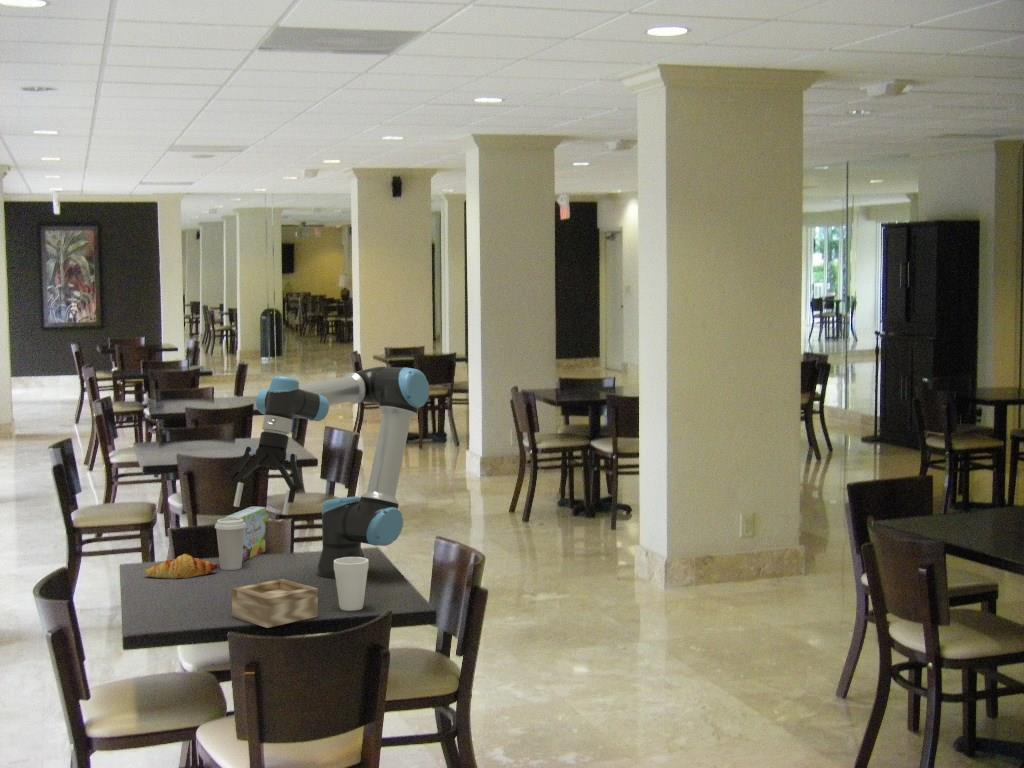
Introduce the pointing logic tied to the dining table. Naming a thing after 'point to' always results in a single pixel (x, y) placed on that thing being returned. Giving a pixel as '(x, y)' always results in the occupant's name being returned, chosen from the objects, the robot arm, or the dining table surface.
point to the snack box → (252, 530)
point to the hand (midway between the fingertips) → (260, 510)
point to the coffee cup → (230, 542)
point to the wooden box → (274, 603)
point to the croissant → (181, 568)
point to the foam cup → (351, 581)
